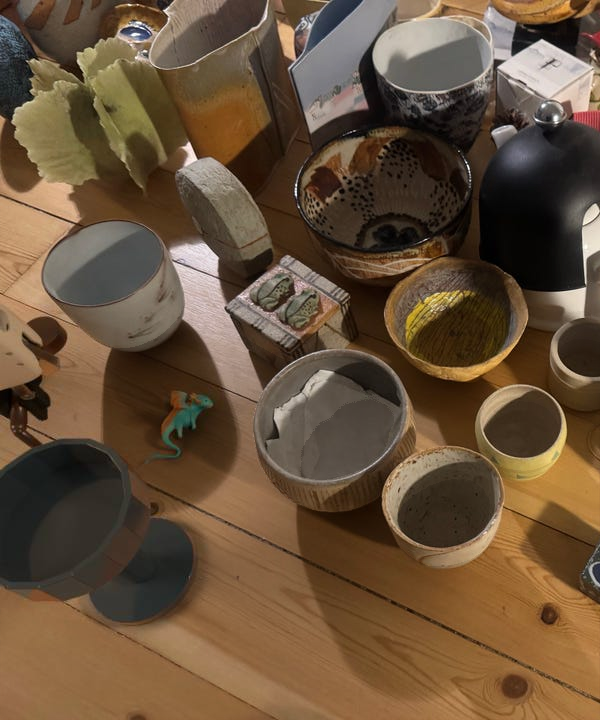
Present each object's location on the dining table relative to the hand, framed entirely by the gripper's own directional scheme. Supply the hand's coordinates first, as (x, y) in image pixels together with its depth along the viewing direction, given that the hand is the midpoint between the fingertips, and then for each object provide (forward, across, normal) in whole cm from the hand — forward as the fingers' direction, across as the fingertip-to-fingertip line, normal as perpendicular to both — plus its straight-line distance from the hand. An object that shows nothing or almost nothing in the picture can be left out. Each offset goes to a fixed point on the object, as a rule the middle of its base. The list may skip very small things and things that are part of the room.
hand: (33, 411), depth 75 cm
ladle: (+3, 0, -5) cm, 6 cm away
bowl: (+10, -6, +17) cm, 21 cm away
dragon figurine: (+10, -12, +1) cm, 15 cm away
